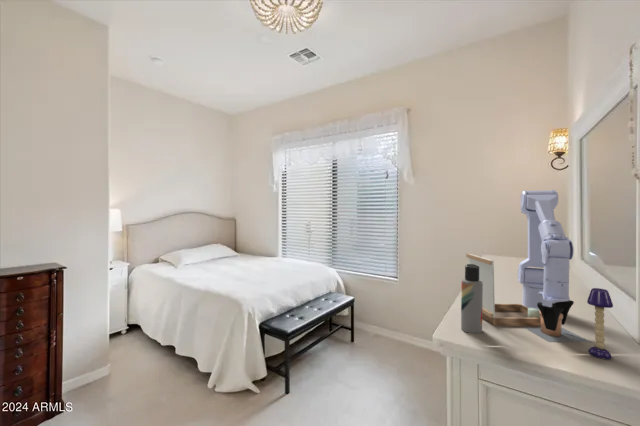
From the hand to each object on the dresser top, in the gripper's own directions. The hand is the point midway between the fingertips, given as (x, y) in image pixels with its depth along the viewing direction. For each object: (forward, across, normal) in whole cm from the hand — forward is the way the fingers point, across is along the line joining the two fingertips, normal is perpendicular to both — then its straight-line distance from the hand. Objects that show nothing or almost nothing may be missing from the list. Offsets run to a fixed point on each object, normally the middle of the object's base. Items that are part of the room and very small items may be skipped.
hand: (555, 326), depth 82 cm
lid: (-9, +4, -19) cm, 21 cm away
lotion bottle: (+3, +17, -16) cm, 23 cm away
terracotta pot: (+2, 0, -1) cm, 2 cm away
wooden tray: (+3, -3, -14) cm, 14 cm away
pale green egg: (+2, -6, -7) cm, 9 cm away
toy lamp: (+3, +5, +10) cm, 12 cm away
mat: (+3, 0, 0) cm, 3 cm away
